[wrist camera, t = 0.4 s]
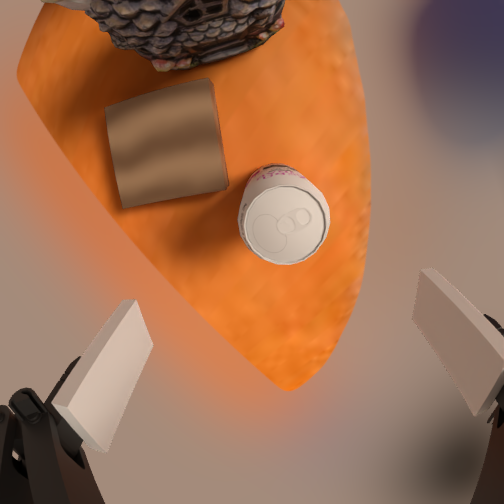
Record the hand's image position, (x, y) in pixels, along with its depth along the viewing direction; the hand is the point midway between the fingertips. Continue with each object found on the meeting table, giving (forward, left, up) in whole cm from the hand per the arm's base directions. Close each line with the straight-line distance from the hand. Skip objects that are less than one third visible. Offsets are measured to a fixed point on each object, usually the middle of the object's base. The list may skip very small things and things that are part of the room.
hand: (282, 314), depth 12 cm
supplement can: (0, +1, -28) cm, 28 cm away
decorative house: (-25, -4, -28) cm, 37 cm away
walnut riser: (-9, -12, -27) cm, 31 cm away
